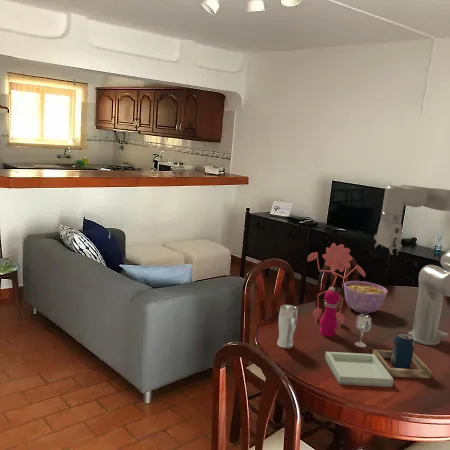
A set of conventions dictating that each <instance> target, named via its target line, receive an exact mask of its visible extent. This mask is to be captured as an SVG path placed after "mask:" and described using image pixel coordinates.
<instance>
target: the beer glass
mask: <svg viewBox="0 0 450 450" xmlns="http://www.w3.org/2000/svg"><path fill="white" fill-rule="evenodd" d="M298 312H299V311H298V307H297V306H295V305H292V304H283V305H280V307H279V313H278V332H279V333H278V339H277V342H276V344H277V346H278V347H280V348H283V349H291V348H293V347H294V333H295V330H296V327H297V322H298Z"/></svg>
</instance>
